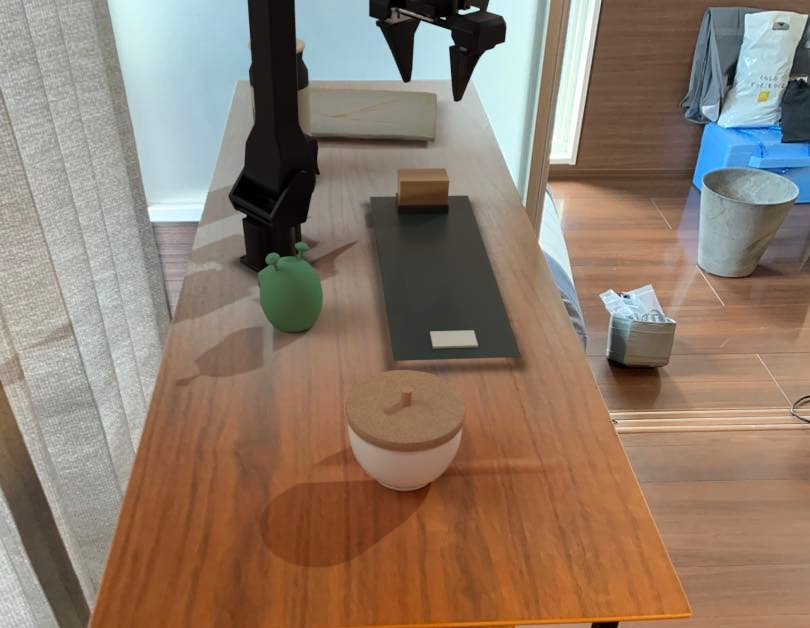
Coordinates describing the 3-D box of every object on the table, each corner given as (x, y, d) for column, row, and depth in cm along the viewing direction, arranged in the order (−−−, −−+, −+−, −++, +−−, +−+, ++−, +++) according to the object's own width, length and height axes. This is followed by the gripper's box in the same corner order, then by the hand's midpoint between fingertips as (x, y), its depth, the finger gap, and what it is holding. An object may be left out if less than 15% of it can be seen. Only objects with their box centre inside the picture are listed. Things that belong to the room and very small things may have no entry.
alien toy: (292, 304, 99) (286, 223, 91) (337, 329, 95) (334, 247, 88) (246, 326, 95) (236, 244, 88) (291, 353, 92) (284, 270, 84)
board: (519, 365, 91) (521, 356, 90) (393, 369, 90) (393, 360, 89) (467, 203, 118) (467, 195, 118) (369, 204, 117) (369, 196, 116)
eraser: (448, 213, 114) (450, 180, 110) (398, 214, 113) (398, 181, 110) (444, 200, 116) (447, 167, 113) (395, 201, 116) (396, 168, 112)
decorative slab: (267, 142, 131) (266, 129, 130) (282, 95, 146) (281, 82, 144) (438, 148, 132) (439, 135, 130) (436, 100, 146) (436, 88, 145)
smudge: (477, 347, 91) (477, 345, 91) (433, 348, 91) (433, 346, 91) (473, 332, 93) (473, 330, 93) (429, 333, 93) (430, 331, 93)
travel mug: (316, 169, 125) (309, 35, 112) (310, 192, 119) (303, 54, 106) (263, 167, 125) (250, 32, 112) (255, 190, 119) (241, 51, 106)
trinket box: (373, 422, 84) (373, 343, 77) (474, 450, 81) (483, 370, 74) (328, 489, 77) (324, 408, 70) (437, 521, 74) (443, 441, 67)
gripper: (543, -46, 97) (525, 97, 108) (428, -75, 106) (423, 60, 117) (481, -32, 91) (469, 117, 103) (365, -63, 100) (366, 77, 112)
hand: (431, 91), depth 109 cm, fingers open, 9 cm apart
